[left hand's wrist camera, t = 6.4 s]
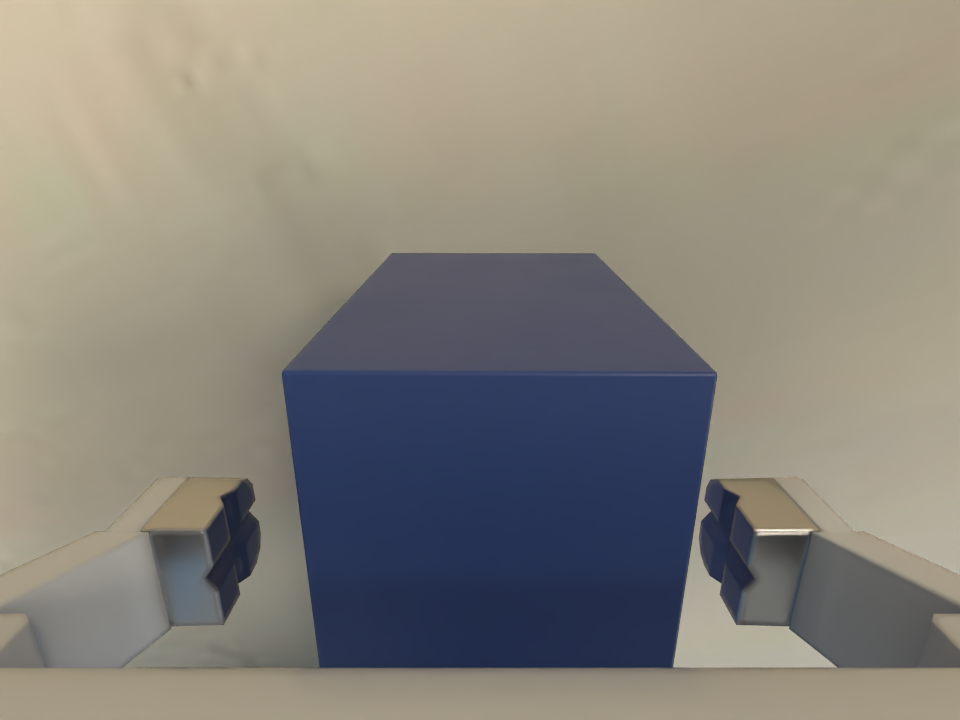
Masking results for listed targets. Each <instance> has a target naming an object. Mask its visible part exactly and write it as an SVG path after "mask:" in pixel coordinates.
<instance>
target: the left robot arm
mask: <svg viewBox="0 0 960 720" xmlns="http://www.w3.org/2000/svg"><path fill="white" fill-rule="evenodd" d="M254 502H255V495H254V490H253V485H252V483H251V482H250V481H249V480H248V479H247V478H198V477H193V478H190V477H165V478H160V479H157V480H156V481H155V482H154V483H153V484H152V485H151V486H150V487H149V488H148V489H147V490H146V491H145V492H144V493H143V494H142V495H141V496H140V497H139V498H138V499H137V500H136V501H135V502H134V503H133V504H132V505H131V506H130V507H129V508H128V509H127V510H126V511H125V512H124V513H123V514H122V515H121V516H120V517H119V518H118V519H117V520H116V522H115V523H114V524H113V525H112V526H111V527H110V528H109V529H108V530H107V531H106V532H94V533H92V534H90V535H88V536H85V537H83V538H81V539H79V540H77V541H74V542H72V543H70V544H68V545H66V546H63V547H61V548H59V549H57V550H55V551H52V552H50V553H48V554H46V555H44V556H41V557H39V558H37V559H35V560H33V561H30V562H28V563H26V564H24V565H22V566H19V567H17V568H15V569H13V570H10V571H8V572H6V573H4V574H2V575H0V720H960V575H958V574H956V573H954V572H951V571H949V570H947V569H945V568H943V567H940V566H938V565H936V564H934V563H932V562H929V561H927V560H925V559H923V558H921V557H918V556H916V555H914V554H912V553H910V552H907V551H905V550H903V549H901V548H899V547H896V546H894V545H892V544H890V543H888V542H885V541H883V540H881V539H879V538H877V537H874V536H872V535H870V534H868V533H866V532H854V531H853V530H852V529H851V528H850V527H849V526H848V524H847V523H846V522H845V521H844V520H843V519H842V518H841V517H840V516H839V515H838V514H837V513H836V512H835V511H834V510H833V509H832V508H831V507H830V506H829V505H828V504H827V503H826V502H825V501H824V500H823V499H822V498H821V497H820V496H819V495H818V494H817V493H816V492H815V491H814V490H813V489H812V488H811V487H810V486H809V485H808V484H807V483H806V482H805V481H804V480H803V479H800V478H798V477H777V478H746V479H711V480H710V482H709V484H708V486H707V488H706V494H705V502H706V503H707V505H708V506H709V508H710V510H711V512H710V513H709V514H708V515H707V516H706V517H705V518H704V519H703V520H702V521H701V526H700V534H699V541H700V552H701V556H702V559H703V563H704V565H705V567H706V569H707V571H708V573H709V575H710V576H711V577H713V578H714V579H716V580H717V581H719V582H720V583H722V585H721V590H720V596H721V598H722V599H723V601H724V603H725V605H726V607H727V609H728V610H729V612H730V614H731V616H732V618H733V619H734V621H735V623H736V625H764V626H790V627H789V629H790V630H792V631H793V632H794V633H795V634H797V635H798V636H799V637H800V638H802V639H803V640H804V641H805V642H807V643H808V644H809V645H810V646H812V647H813V648H814V649H815V650H817V651H818V652H819V653H820V654H822V655H823V656H824V657H825V658H827V659H828V660H829V661H831V662H832V663H833V664H834V665H836V666H837V667H838V668H122V667H123V666H125V665H126V664H127V663H128V662H130V661H131V660H132V659H133V658H135V657H136V656H137V655H138V654H140V653H141V652H142V651H144V650H145V649H146V648H147V647H149V646H150V645H151V644H152V643H154V642H155V641H156V640H157V639H159V638H160V637H161V636H162V635H164V634H165V633H166V632H167V631H169V630H170V629H171V627H170V626H196V625H224V623H225V621H226V620H227V618H228V616H229V614H230V612H231V610H232V609H233V607H234V605H235V603H236V601H237V599H238V598H239V596H240V590H239V585H238V583H240V582H241V581H243V580H244V579H246V578H247V577H249V576H250V575H251V573H252V571H253V569H254V567H255V565H256V563H257V559H258V555H259V551H260V541H261V532H260V525H259V521H258V520H257V519H256V518H255V517H254V516H253V515H252V514H251V513H250V512H249V510H250V508H251V506H252V505H253V503H254Z"/></svg>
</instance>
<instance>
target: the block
mask: <svg viewBox="0 0 960 720" xmlns="http://www.w3.org/2000/svg"><path fill="white" fill-rule="evenodd" d="M282 378H283V386H284V394H285V402H286V409H287V417H288V425H289V433H290V440H291V448H292V456H293V463H294V471H295V479H296V487H297V494H298V502H299V510H300V518H301V525H302V533H303V541H304V548H305V556H306V564H307V572H308V579H309V587H310V595H311V602H312V610H313V618H314V626H315V633H316V641H317V649H318V657H319V664H320V668H673V663H674V657H675V650H676V643H677V637H678V630H679V624H680V617H681V611H682V604H683V597H684V591H685V584H686V578H687V571H688V564H689V558H690V551H691V545H692V538H693V532H694V525H695V518H696V512H697V505H698V499H699V492H700V486H701V479H702V472H703V466H704V459H705V453H706V446H707V439H708V433H709V426H710V420H711V413H712V407H713V400H714V393H715V387H716V380H717V373H716V372H715V371H714V370H713V369H712V368H711V367H710V366H709V365H708V364H707V363H706V362H705V361H704V360H703V359H702V358H701V357H700V356H699V355H698V354H697V353H696V352H695V351H694V350H693V349H692V348H691V347H690V346H689V345H688V344H687V343H686V342H685V341H684V340H683V339H682V338H681V337H679V336H678V335H677V334H676V333H675V332H674V331H673V330H672V329H671V328H670V327H669V326H668V325H667V324H666V323H665V322H664V321H663V320H662V319H661V318H660V317H659V316H658V315H657V314H656V313H655V312H654V311H653V310H652V309H651V308H650V307H649V306H648V305H647V304H646V303H645V302H644V301H643V300H642V299H641V298H640V297H639V296H638V295H637V294H636V293H635V292H634V291H633V290H632V289H631V288H630V287H629V286H627V285H626V284H625V283H624V282H623V281H622V280H621V279H620V278H619V277H618V276H617V275H616V274H615V273H614V272H613V271H612V270H611V269H610V268H609V267H608V266H607V265H606V264H605V263H604V262H603V261H602V260H601V259H600V258H599V257H598V256H597V255H596V254H550V253H392V254H391V255H390V256H389V257H388V258H387V259H386V260H385V261H384V262H383V263H382V264H381V266H380V267H379V268H378V269H377V270H376V271H375V272H374V273H373V274H372V275H371V276H370V277H369V279H368V280H367V281H366V282H365V283H364V284H363V285H362V286H361V287H360V288H359V289H358V290H357V291H356V293H355V294H354V295H353V296H352V297H351V298H350V299H349V300H348V301H347V302H346V303H345V304H344V305H343V307H342V308H341V309H340V310H339V311H338V312H337V313H336V314H335V315H334V316H333V317H332V318H331V320H330V321H329V322H328V323H327V324H326V325H325V326H324V327H323V328H322V329H321V330H320V331H319V332H318V334H317V335H316V336H315V337H314V338H313V339H312V340H311V341H310V342H309V343H308V344H307V345H306V347H305V348H304V349H303V350H302V351H301V352H300V353H299V354H298V355H297V356H296V357H295V358H294V359H293V361H292V362H291V363H290V364H289V365H288V366H287V367H286V368H285V369H284V370H283V372H282Z"/></svg>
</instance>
